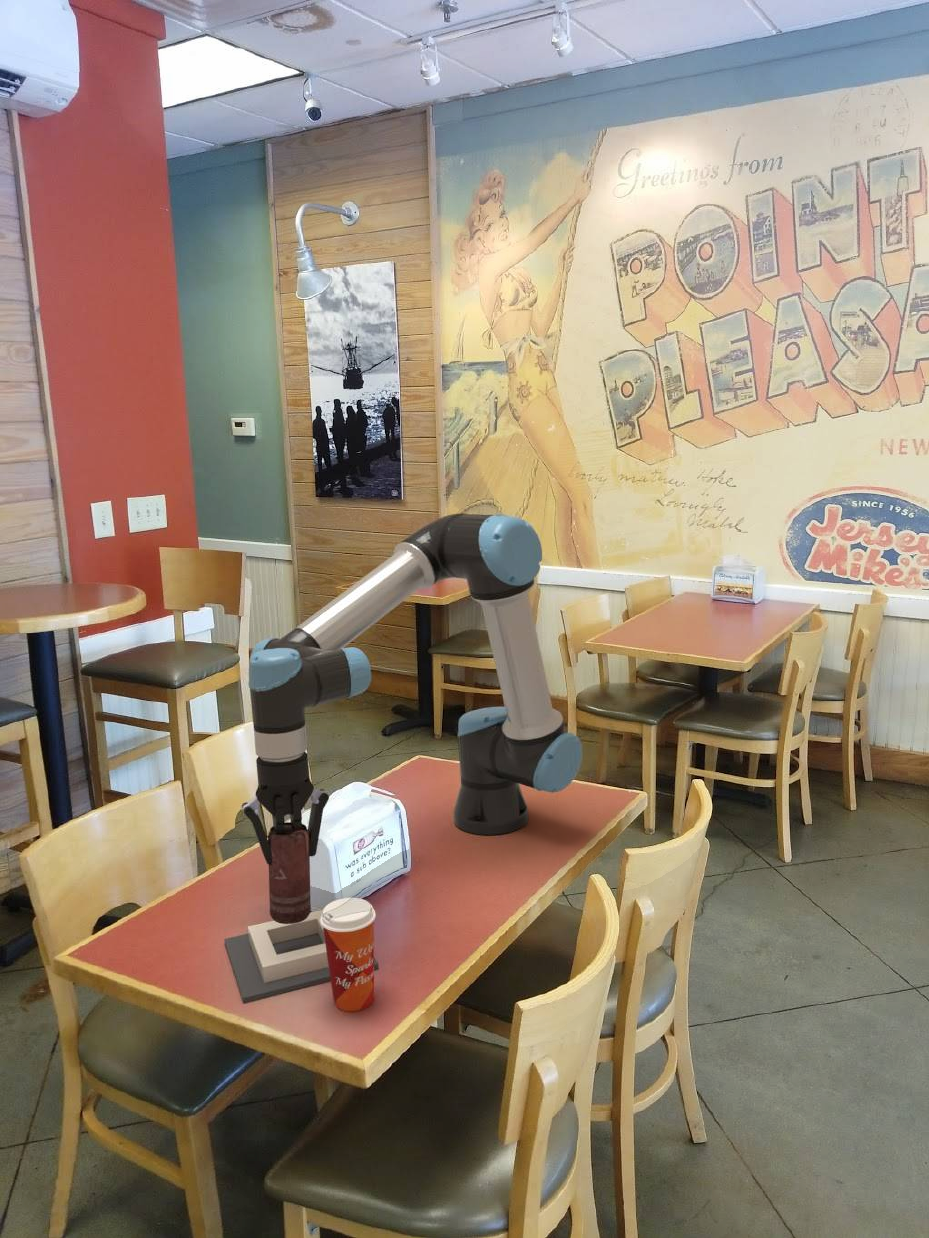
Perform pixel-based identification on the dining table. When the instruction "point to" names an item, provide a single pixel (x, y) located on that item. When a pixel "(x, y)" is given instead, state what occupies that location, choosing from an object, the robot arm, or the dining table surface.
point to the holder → (291, 961)
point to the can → (289, 875)
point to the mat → (252, 978)
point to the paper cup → (350, 952)
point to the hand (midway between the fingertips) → (293, 901)
